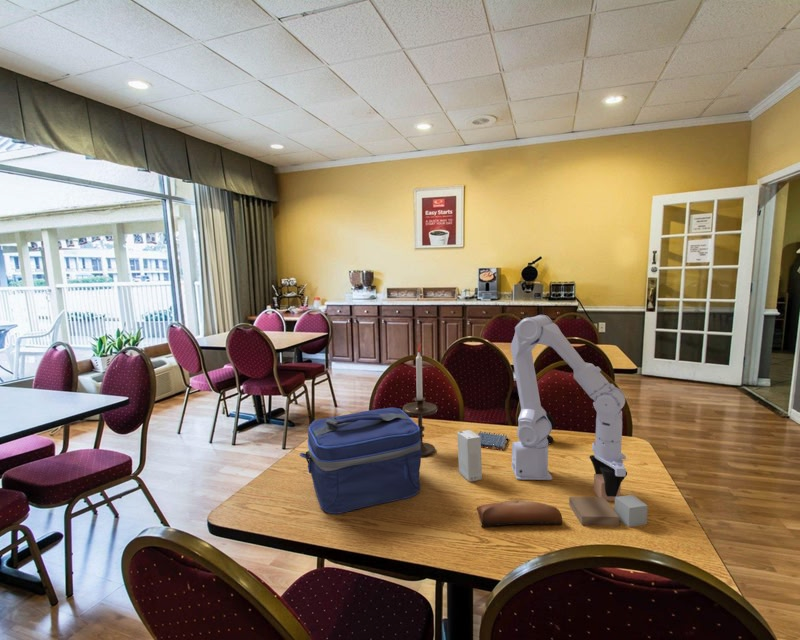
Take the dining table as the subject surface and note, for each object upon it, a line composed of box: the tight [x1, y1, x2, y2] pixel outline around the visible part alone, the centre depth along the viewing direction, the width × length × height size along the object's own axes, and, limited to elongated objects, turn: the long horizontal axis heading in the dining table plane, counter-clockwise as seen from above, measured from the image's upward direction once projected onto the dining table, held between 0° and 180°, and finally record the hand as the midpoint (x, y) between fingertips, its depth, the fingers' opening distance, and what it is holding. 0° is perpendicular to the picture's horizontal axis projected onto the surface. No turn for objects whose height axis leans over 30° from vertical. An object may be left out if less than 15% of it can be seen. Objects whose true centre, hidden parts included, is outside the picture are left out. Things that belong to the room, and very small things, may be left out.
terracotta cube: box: [593, 473, 622, 502], centre depth 101 cm, size 4×4×4 cm
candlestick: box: [402, 343, 438, 458], centre depth 128 cm, size 11×11×35 cm
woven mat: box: [477, 430, 509, 451], centre depth 135 cm, size 10×11×2 cm
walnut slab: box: [568, 496, 620, 527], centre depth 93 cm, size 8×8×2 cm
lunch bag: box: [299, 407, 423, 514], centre depth 107 cm, size 31×21×20 cm
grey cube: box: [613, 494, 649, 528], centre depth 91 cm, size 4×4×4 cm
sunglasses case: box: [476, 500, 563, 528], centre depth 93 cm, size 18×7×7 cm, turn 91°
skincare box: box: [457, 429, 483, 482], centre depth 112 cm, size 6×4×12 cm
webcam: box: [546, 412, 555, 445], centre depth 135 cm, size 8×8×10 cm
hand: (606, 490), depth 101 cm, fingers closed on terracotta cube, 4 cm apart
